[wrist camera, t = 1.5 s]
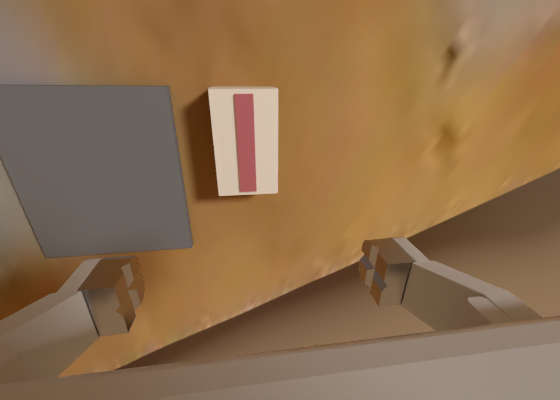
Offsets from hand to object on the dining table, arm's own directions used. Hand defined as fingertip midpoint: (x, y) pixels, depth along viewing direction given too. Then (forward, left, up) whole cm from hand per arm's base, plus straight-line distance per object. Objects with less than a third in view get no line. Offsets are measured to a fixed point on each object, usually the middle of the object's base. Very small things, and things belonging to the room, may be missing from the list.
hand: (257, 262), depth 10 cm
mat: (+4, -15, -21) cm, 26 cm away
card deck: (0, 0, -21) cm, 21 cm away
